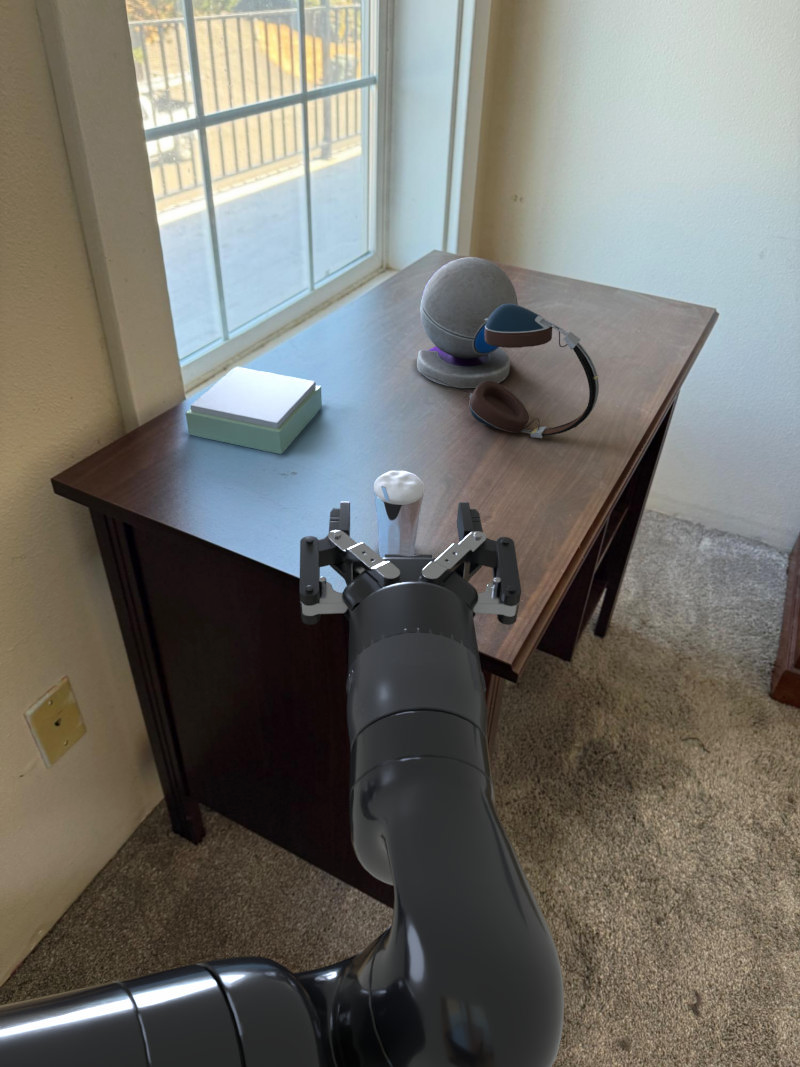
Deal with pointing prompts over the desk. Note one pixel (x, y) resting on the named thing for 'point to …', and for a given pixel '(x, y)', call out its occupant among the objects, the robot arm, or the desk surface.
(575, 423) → the headphones
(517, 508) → the desk surface
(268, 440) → the scale
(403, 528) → the milkshake
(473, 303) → the webcam
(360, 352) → the desk surface
